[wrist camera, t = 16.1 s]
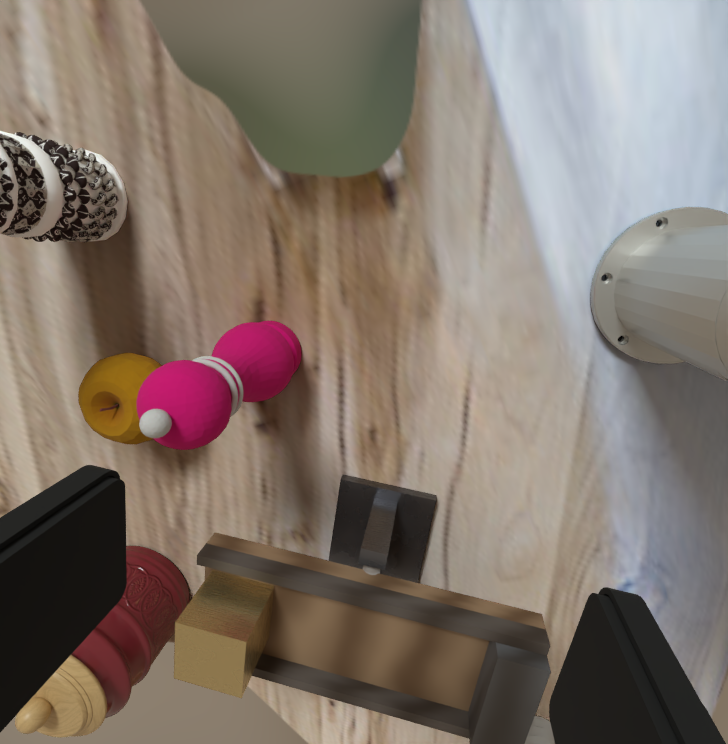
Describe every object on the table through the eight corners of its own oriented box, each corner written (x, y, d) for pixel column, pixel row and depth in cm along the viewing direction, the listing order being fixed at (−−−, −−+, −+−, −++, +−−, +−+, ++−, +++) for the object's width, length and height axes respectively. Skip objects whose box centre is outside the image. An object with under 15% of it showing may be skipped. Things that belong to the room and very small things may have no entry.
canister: (188, 550, 54) (74, 688, 37) (196, 635, 57) (94, 795, 41) (93, 535, 56) (-57, 660, 39) (106, 618, 59) (-26, 764, 43)
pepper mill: (311, 383, 45) (214, 485, 26) (244, 386, 46) (107, 484, 27) (301, 313, 43) (190, 366, 24) (232, 317, 44) (76, 372, 26)
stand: (436, 495, 46) (434, 554, 37) (403, 642, 52) (395, 722, 43) (342, 474, 47) (320, 526, 38) (320, 620, 53) (296, 694, 44)
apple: (217, 393, 47) (167, 426, 39) (163, 437, 50) (106, 476, 41) (160, 326, 46) (96, 344, 38) (109, 374, 49) (38, 402, 40)
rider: (274, 585, 40) (246, 642, 34) (269, 636, 42) (241, 698, 36) (212, 569, 41) (175, 622, 35) (210, 620, 43) (173, 678, 37)
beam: (540, 598, 39) (556, 656, 33) (504, 705, 43) (513, 773, 37) (221, 520, 43) (188, 561, 37) (215, 625, 46) (184, 675, 41)
